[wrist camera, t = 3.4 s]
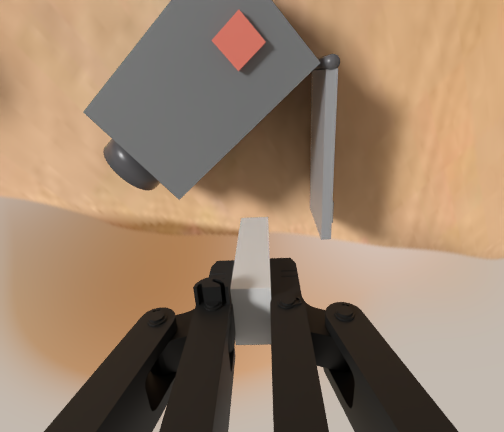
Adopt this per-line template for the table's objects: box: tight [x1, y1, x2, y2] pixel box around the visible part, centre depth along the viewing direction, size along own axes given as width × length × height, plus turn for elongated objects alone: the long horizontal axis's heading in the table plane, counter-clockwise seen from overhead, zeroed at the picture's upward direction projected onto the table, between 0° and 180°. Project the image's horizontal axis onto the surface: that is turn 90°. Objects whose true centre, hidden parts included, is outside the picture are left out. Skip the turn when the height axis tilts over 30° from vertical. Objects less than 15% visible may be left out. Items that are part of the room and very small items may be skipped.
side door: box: [310, 54, 340, 240], centre depth 27 cm, size 14×2×7 cm, turn 3°
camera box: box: [84, 0, 320, 200], centre depth 25 cm, size 17×9×9 cm, turn 133°
